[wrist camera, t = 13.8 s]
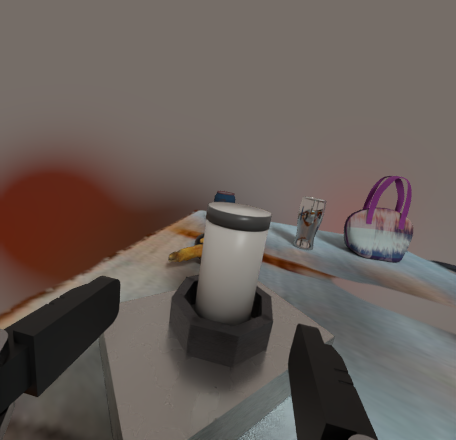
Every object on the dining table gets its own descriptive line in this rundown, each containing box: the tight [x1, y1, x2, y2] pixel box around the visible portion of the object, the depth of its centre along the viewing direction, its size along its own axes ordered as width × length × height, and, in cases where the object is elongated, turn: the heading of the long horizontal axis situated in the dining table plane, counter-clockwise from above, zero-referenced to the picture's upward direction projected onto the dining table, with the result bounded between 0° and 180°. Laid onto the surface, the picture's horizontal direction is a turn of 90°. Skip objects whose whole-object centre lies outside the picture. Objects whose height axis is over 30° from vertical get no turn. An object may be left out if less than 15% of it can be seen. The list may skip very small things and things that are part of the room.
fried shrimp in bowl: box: [168, 234, 204, 262], centre depth 42 cm, size 9×11×18 cm
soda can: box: [214, 191, 235, 203], centre depth 71 cm, size 7×7×12 cm
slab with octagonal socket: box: [99, 275, 335, 440], centre depth 22 cm, size 20×14×7 cm
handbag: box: [344, 176, 413, 262], centre depth 65 cm, size 21×10×25 cm, turn 88°
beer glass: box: [293, 197, 326, 250], centre depth 63 cm, size 7×7×15 cm
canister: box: [194, 202, 272, 326], centre depth 20 cm, size 6×6×12 cm
